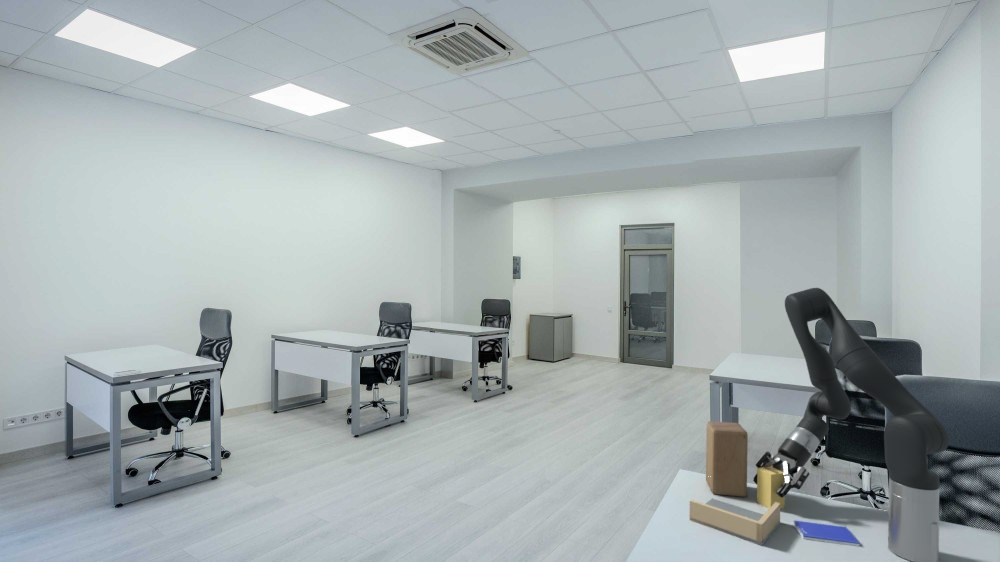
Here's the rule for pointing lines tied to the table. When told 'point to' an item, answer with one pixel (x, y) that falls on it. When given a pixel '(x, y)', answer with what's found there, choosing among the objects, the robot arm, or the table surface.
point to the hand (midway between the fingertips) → (767, 489)
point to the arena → (736, 519)
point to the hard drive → (825, 533)
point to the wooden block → (726, 458)
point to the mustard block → (769, 486)
